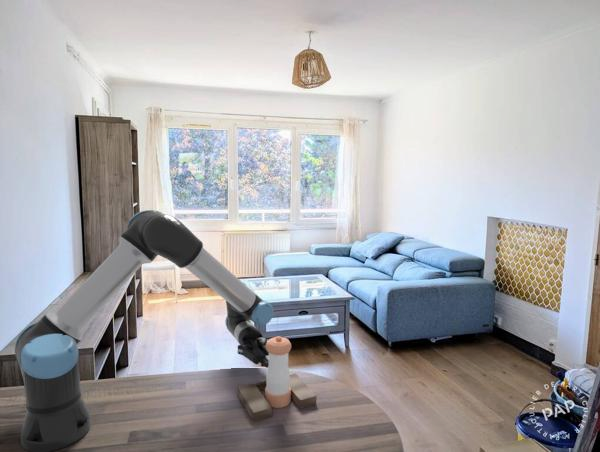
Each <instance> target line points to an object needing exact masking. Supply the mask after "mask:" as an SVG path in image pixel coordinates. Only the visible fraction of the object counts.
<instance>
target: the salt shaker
mask: <svg viewBox="0 0 600 452" xmlns="http://www.w3.org/2000/svg"><path fill="white" fill-rule="evenodd" d="M267 341H268V342H267V343H266V349H267V351H268V352H269V365H268V367H267V372H266V376H265V378H266V379H265V381H266V385H267V386H266V388H265V391H264V398H265V399H266V401H267V402H268V403H269V405H270V406H271V408H275V409H281V408H284V407H287V406H289V404H290V403H291V400H292V398H291V388H290V375H291V374H290V369H289V352H290V351H291V349H292V343H291V342H290V340H289V339H288V338H286V337H283V336H280V335H279V336H278V335H277V336H275V337H272V338H269V339H268V340H267Z"/></svg>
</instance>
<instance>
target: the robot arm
mask: <svg viewBox="0 0 600 452" xmlns="http://www.w3.org/2000/svg"><path fill="white" fill-rule="evenodd" d="M118 242H119V245H118V246H117V247H116V248H115V249H114V250H113V251H112V252H111V253H110V254H108V257H107V258H106V259H105V260H103V262H101V264H100V265H99V266H98V267H97V268H96V269H95V270H94V271H93V272H92V273H91V274H90V275H89V276H88V277H87V278H86V280H84V282H83V283H82V284H81V285H80V286H79V287H77V289H76V290H75V291H74V292H73V293H72V294H71V295H70V296H69V298H67V300H66V301H65V302H64V303H63V304H62V305H61V306H60V307H59V308H58V309H57V310H56V311H52V312H46V313H45V314H44V315H43V316H42V317H41V318H40V319H39V321H37V322H33V323H31V324H29V325H27V326H26V327H25V328H24V329H23V330H22V331H21V332H20V333H19V334H18V336H17V338H16V341H15V344H14V345H15V346H14V354H15V355H14V356H15V359H16V361H17V363H18V366H19V369H20V372H21V375H22V380H23V389H24V398H25V405H26V412H25V415H24V420H23V422H22V426H21V429H20V444H21V447H23V449H24V450H26V451H28V452H54V451H57V450H60V449H63V448H65V447H69V446H70V445H73V444H75V443H76V442H78V441H79V440H81V439H82V438H83V437H84V436H85V435H87V433H88V432H89V431H90V429H91V427H92V415H91V412H90V410H89V408H88V407H87V404H86V403H85V400H84V398H83V396H82V390H81V389H82V387H81V375H80V363H79V361H80V360H79V358H80V357H79V355H80V354H79V353H80V352H79V348H78V344H79V343H80V342H81V341H82V340H83V330H84V329H86V327H87V326H88V325H89V324H90V323H91V322H92V321H93V319H94V318H95V317H96V316H97V315H98V314H99V312H101V311H102V310H103V308H104V307H105V306H106V305H107V304H108V303H109V302H110V301H111V299H112V298H113V297H114V296H115V295H116V294H117V293H118V292H119V291H120V290H121V289H122V287H124V285H125V284H126V283H127V282H128V281H129V280H130V279H131V277H133V275H134V274H136V272H138V270H139V269H140V268H141V266H142V265H144V264H150V263H152V262H153V261H154V260H155V259H156V258H157V257H158V256H159V257H162V258H164V259H166V260H168V261H170V262H172V263H173V264H174V265H176V266H177V267H178V268H179V269H186V270H188V272H190V273H191V274H192V275H194V276H195V277H196V278H197V279H198V280H200V281H201V282H202V283H204V284H205V285H206V286H207V287H209V288H210V289H211V290H212V291H214V292H215V293H216V295H219V297H221V298H222V299H223V300H225V304H226V311H227V316H226V317H225V320H224V321H225V326H226V329H227V331H228V332H229V333H230V334H231V335H232V336H233V337H234V339H235V340H236V341H237V343H239V344H238V345H237V354H238V355H241V356H243V357H245V358H246V359H247V360H249V361H250V362H252V363H253V364H254V365H259V364H260V365H261V367H265V368H266V369H268V365H269V352H268V351H267V349H266V343H267V342H268V341H269V340H267V338H266V337H264V336H263V334H262V333H261V331H259V329H258V328H257V327H256V326H255V325H254V324H257V325H259V326H265V325H268V324H269V323H270V322H271V321H272V319H273V317H274V314H275V311H274V307H273V305H272V304H270V303H269V301H266V300H263V299H262V298H261V297H260V296H259V295H257V294H256V293H255V292H254V291H253V290H252V289H250V287H248V286H247V284H246V283H245V282H242V281H241V280H240V279H239V278H238V277H237V276H236V275H235V274H234V273H232V272H231V271H230V270H229V269H228V268H227V267H226V266H224V265H223V264H222V263H221V262H220V261H219V260H218V259H216V258H215V257H214V256H213V255H212V254H211V253H210V252H209V251H207V250H206V249H205V248H204V244H203V242H202V240H200V239H199V238H198V237H197V235H195V234H194V233H193V232H192V231H191V230H190V229H189V228H188V227H187V226H186V225H185V224H183V222H182V221H181V220H179V219H178V218H176V216H175V217H174V216H173V215H170V214H165V213H163V212H161V211H158V210H154V209H150V210H149V209H147V210H141V211H139V212H137V213H136V214H134V215H133V216H132V217H130V220H128V222H127V227H126V230H125V231H123V233H122V234H121V235H120V236H119V241H118Z"/></svg>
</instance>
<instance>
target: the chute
mask: <svg viewBox="0 0 600 452" xmlns="http://www.w3.org/2000/svg"><path fill="white" fill-rule="evenodd" d="M289 375H290V388H291V400H292V401H293V402H294V403H295V404H296V406H297V407H298V408H299V409H300V410H301V409H303V408H307V407H312V406H314V405H317V394H315V393H314V392H313V390H312V389H310V387H309V386H308V385H307V384H306V383H305V382H304V381H303V379H301V377H300V376H299V375H298V374H297V373H292V374H289ZM266 386H267V385H266V380H262V381H259V382H258V381H257V382H254V383H251V384H246V385H241V386H238V387H237V396H238V398H239V399H240V402H242V404H243V406H244V408H245V409H246V412H247V414H249V416H250V418H251V419H252V420H253V422H257V421H261V420H264V419H267V418H268V419H269V418H271V417H272V416H273V415H272V414H273V411H272V408H273V407H271V406H270V405H269V403H268V402H267V401H266V399H265V395H264V394H262V392H265V388H266Z"/></svg>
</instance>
